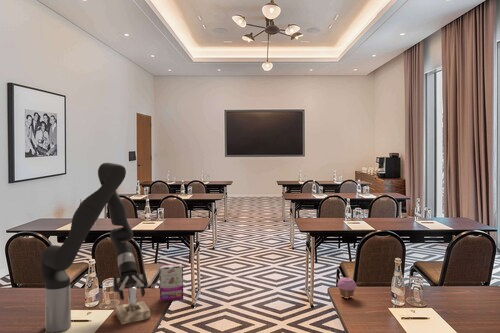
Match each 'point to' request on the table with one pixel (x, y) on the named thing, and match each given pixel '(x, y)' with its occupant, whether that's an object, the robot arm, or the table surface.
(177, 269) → the candy bar box
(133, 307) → the pin
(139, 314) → the socket block
